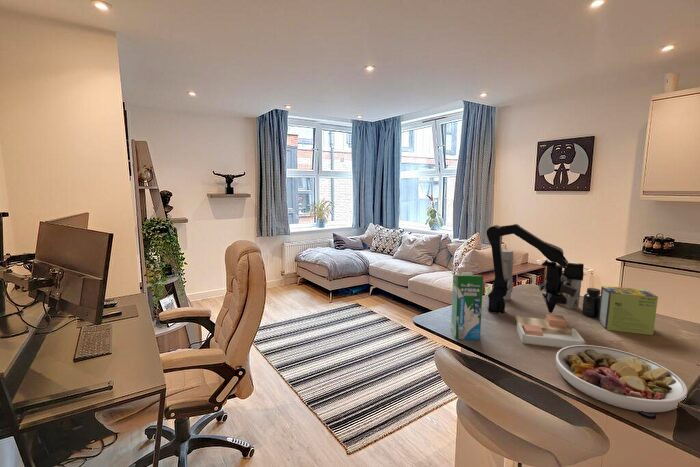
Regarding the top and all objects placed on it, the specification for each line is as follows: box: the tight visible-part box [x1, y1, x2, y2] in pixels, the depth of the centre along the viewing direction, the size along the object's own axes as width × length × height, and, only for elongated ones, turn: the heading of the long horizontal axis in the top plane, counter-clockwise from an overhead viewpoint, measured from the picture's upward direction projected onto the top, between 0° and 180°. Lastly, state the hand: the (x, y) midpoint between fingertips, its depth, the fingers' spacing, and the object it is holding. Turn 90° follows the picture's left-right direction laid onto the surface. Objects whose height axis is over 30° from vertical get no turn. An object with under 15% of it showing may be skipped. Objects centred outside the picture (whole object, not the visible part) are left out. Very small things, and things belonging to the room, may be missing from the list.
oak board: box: [515, 315, 572, 335], centre depth 139 cm, size 18×10×2 cm, turn 73°
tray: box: [516, 322, 587, 349], centre depth 128 cm, size 20×12×3 cm, turn 73°
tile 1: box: [523, 324, 544, 336], centre depth 132 cm, size 6×6×2 cm
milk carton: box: [450, 271, 484, 341], centre depth 132 cm, size 9×9×25 cm
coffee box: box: [556, 270, 582, 310], centre depth 163 cm, size 9×6×16 cm
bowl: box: [555, 344, 688, 413], centre depth 100 cm, size 30×30×8 cm
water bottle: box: [502, 248, 516, 302], centre depth 171 cm, size 9×8×25 cm
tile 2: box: [544, 313, 568, 328], centre depth 138 cm, size 6×6×2 cm
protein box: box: [597, 285, 659, 336], centre depth 138 cm, size 10×15×16 cm
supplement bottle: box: [581, 287, 601, 319], centre depth 151 cm, size 7×7×12 cm
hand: (550, 312), depth 145 cm, fingers closed
